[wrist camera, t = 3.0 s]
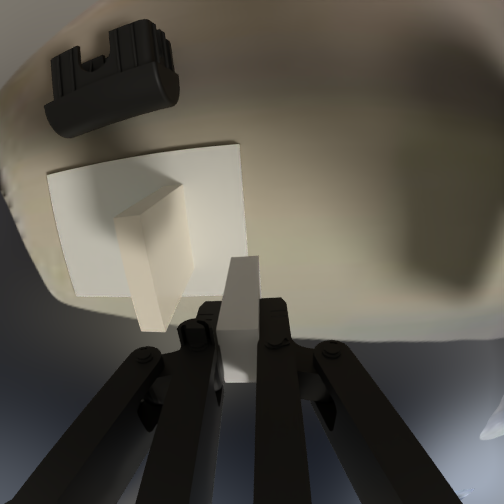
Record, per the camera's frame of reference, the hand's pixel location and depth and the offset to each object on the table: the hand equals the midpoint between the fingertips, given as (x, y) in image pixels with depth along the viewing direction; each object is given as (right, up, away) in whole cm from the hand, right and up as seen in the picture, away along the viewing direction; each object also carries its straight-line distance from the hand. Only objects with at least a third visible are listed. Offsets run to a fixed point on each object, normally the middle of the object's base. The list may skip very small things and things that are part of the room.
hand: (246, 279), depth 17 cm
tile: (-7, +2, +6) cm, 9 cm away
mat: (-10, +4, +11) cm, 16 cm away
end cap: (-11, +16, +6) cm, 21 cm away
